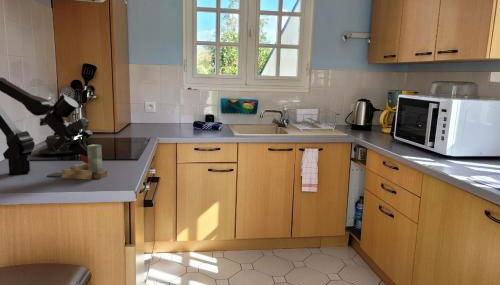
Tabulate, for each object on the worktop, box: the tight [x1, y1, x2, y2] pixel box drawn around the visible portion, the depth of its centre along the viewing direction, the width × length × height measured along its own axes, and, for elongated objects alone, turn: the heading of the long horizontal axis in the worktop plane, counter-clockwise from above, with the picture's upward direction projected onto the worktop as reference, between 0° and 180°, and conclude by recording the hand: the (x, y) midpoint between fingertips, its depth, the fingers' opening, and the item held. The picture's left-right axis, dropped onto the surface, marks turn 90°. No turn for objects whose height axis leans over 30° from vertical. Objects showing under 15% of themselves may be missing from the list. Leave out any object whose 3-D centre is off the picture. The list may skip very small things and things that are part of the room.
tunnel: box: [61, 162, 93, 180], centre depth 145 cm, size 11×8×4 cm
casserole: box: [37, 134, 88, 156], centre depth 189 cm, size 25×19×8 cm
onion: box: [80, 154, 88, 163], centre depth 164 cm, size 6×6×8 cm
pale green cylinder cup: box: [87, 144, 108, 180], centre depth 144 cm, size 7×5×12 cm
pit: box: [46, 172, 62, 178], centre depth 145 cm, size 5×5×1 cm
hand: (89, 156), depth 144 cm, fingers closed, pressing on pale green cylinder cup
